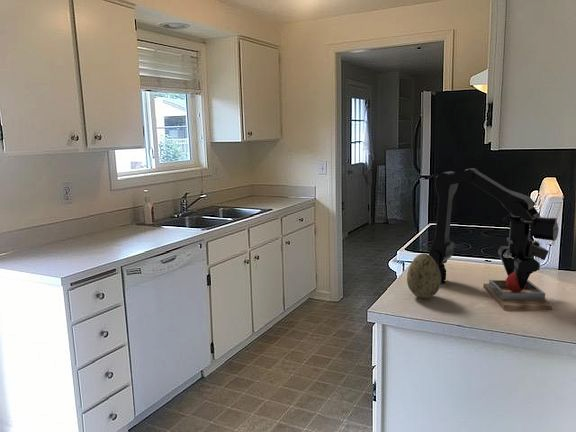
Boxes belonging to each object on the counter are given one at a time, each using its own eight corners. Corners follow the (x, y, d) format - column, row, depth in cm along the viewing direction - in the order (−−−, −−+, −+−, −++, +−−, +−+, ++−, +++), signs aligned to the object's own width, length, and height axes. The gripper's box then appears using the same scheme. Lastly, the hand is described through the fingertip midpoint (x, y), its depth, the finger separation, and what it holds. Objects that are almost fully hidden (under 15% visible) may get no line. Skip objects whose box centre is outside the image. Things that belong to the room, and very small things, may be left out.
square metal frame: (502, 300, 146) (502, 293, 145) (489, 287, 158) (489, 280, 157) (544, 301, 144) (545, 293, 144) (528, 287, 157) (528, 280, 156)
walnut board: (503, 309, 142) (503, 305, 142) (483, 287, 162) (483, 283, 162) (552, 310, 141) (552, 305, 141) (525, 287, 160) (525, 283, 160)
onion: (508, 289, 155) (509, 266, 154) (527, 292, 151) (528, 268, 150) (503, 294, 151) (503, 270, 149) (522, 298, 147) (523, 273, 146)
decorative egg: (401, 299, 153) (402, 255, 150) (413, 289, 162) (414, 247, 159) (434, 306, 147) (435, 259, 144) (444, 295, 156) (446, 251, 153)
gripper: (560, 243, 138) (555, 293, 140) (533, 229, 156) (530, 274, 159) (520, 243, 139) (517, 293, 142) (498, 229, 157) (496, 274, 160)
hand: (516, 283), depth 150 cm, fingers open, 9 cm apart
